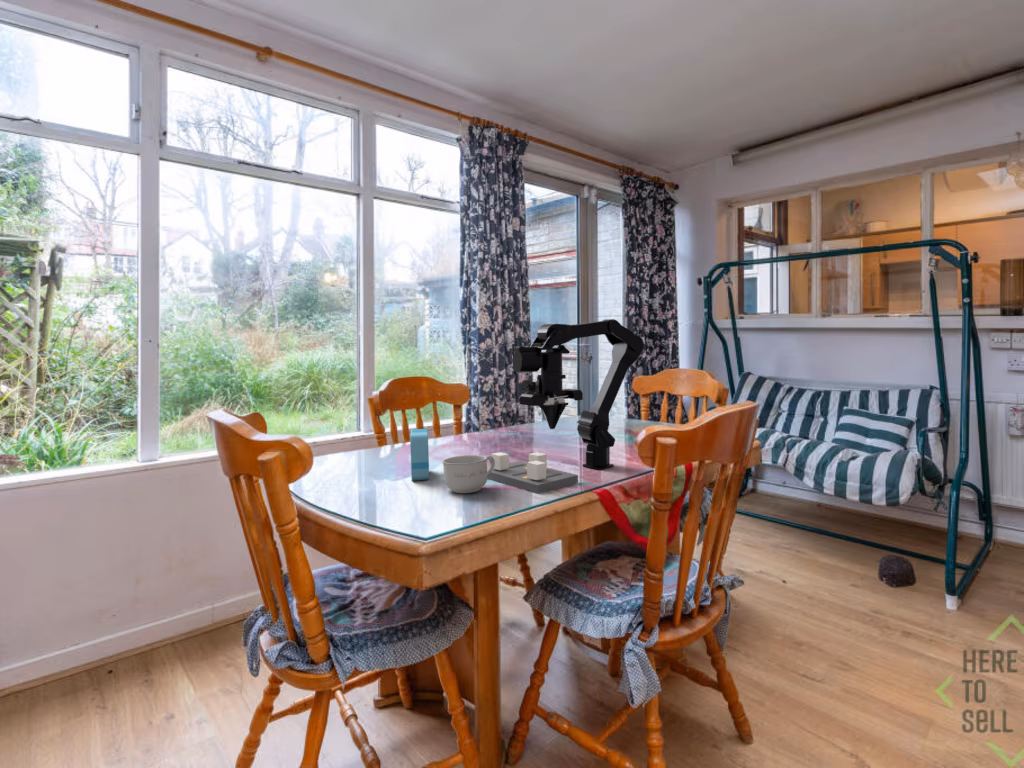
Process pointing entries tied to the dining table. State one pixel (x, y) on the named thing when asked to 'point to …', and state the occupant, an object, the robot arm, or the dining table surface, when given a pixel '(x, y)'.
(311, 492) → the dining table surface
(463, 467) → the teacup
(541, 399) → the robot arm
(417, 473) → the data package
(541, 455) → the tab middle
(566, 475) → the switch panel
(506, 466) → the tab
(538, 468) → the tab
